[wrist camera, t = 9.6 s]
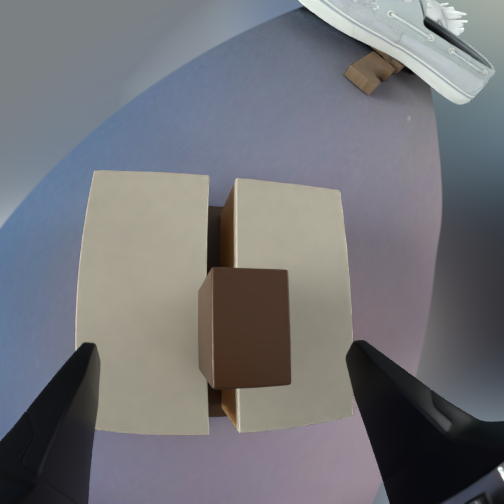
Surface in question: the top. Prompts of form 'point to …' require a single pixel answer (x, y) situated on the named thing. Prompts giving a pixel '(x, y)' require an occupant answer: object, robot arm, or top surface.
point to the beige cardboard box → (186, 299)
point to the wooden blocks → (372, 70)
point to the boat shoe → (411, 42)
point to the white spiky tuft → (445, 16)
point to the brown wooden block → (244, 328)
